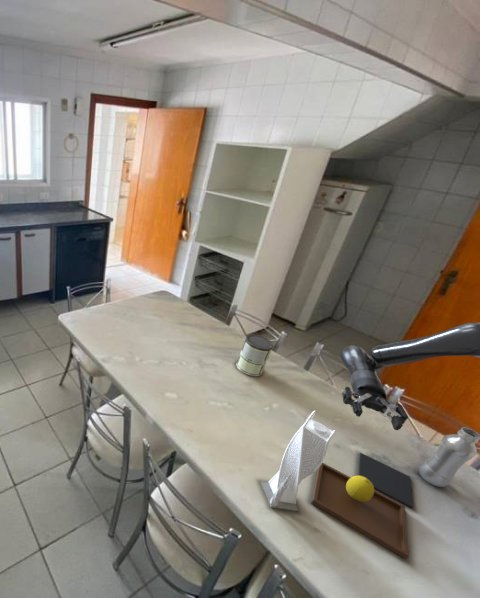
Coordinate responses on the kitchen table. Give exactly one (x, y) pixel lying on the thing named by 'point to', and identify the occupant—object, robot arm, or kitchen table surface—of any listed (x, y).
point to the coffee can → (254, 355)
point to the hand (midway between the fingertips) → (378, 421)
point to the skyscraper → (298, 463)
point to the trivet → (386, 479)
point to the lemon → (360, 488)
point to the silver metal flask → (449, 457)
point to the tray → (362, 510)
